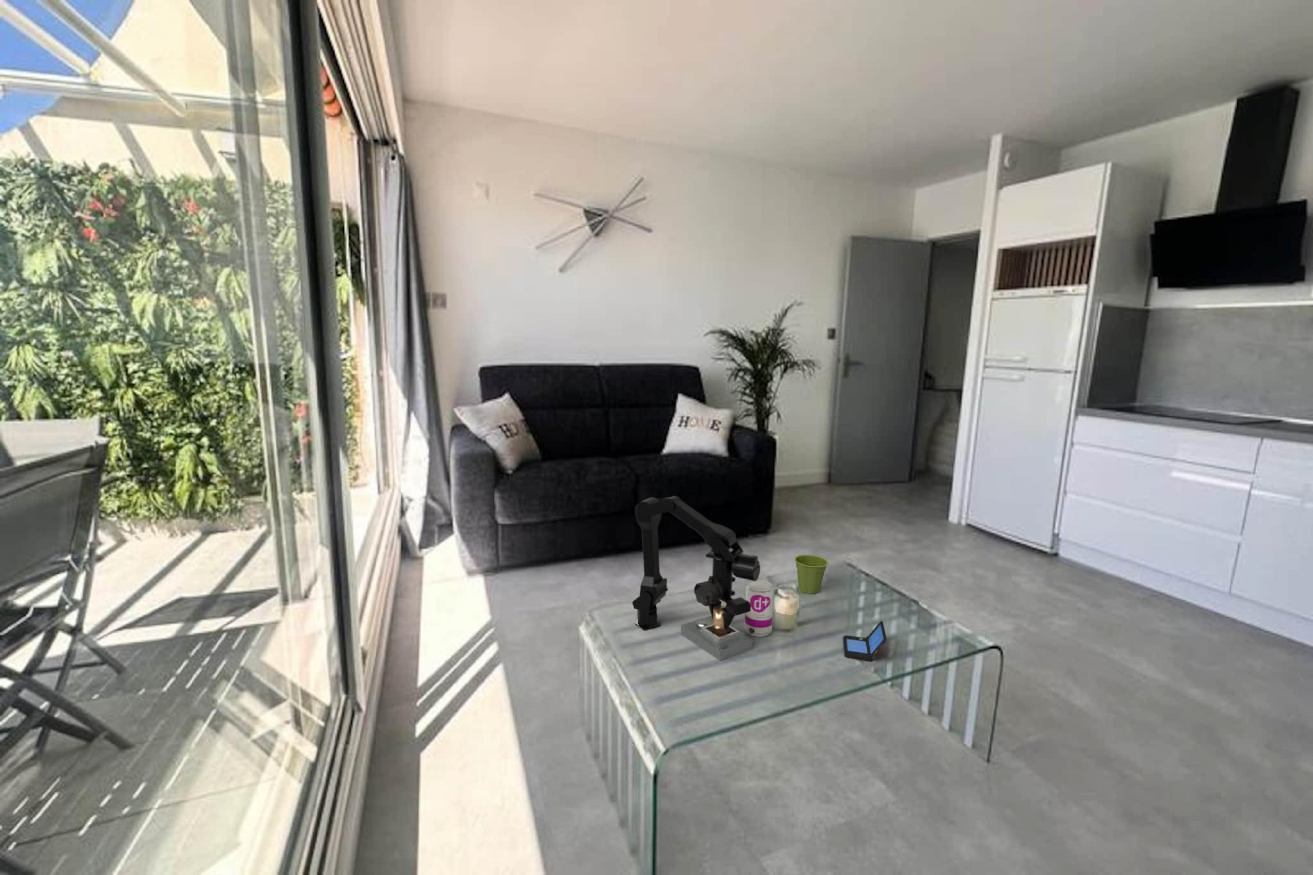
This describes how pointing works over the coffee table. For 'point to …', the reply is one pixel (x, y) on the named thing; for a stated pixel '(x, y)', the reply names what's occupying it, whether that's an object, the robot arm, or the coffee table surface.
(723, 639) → the grey socket plate
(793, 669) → the coffee table surface
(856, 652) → the handheld game console
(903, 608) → the coffee table surface
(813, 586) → the plant pot
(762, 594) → the supplement can
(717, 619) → the copper tin
